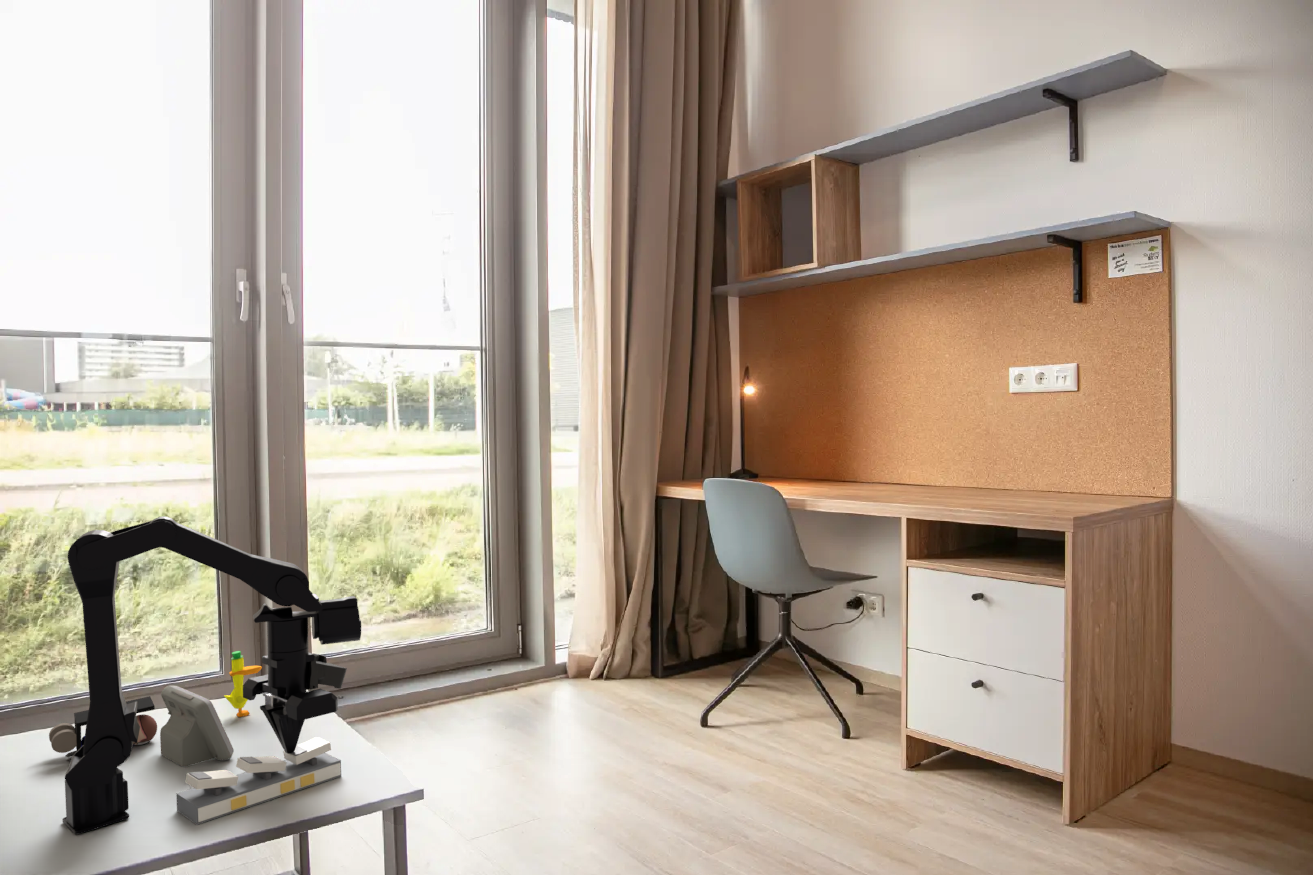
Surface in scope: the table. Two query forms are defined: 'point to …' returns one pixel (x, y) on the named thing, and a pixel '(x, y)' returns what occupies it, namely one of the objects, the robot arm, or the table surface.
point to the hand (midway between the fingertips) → (289, 752)
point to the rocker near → (211, 779)
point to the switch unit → (256, 788)
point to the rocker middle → (261, 764)
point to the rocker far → (308, 750)
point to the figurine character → (70, 737)
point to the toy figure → (239, 682)
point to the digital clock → (192, 729)
